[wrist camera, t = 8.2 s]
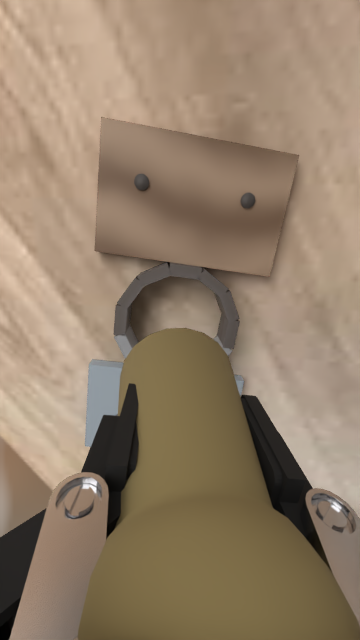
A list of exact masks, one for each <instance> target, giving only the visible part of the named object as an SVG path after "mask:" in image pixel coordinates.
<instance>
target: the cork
mask: <svg viewBox="0 0 360 640" xmlns="http://www.w3.org/2000/svg"><path fill="white" fill-rule="evenodd" d="M129 383H133V384H135V385H136V389H137V396H138V403H139V404H138V410H137V416H136V423H137V432H138V440H139V447H138V454H137V461H136V469H135V471H134V472H133V473H132V474H131V475H130V477H129V478H128V479H127V480H126V483H125V488H124V489H123V490H122V491H121V514H120V517H119V519H118V521H117V523H116V526H115V530H114V531H113V532H112V533H111V534H110V535H109V536H108V538H107V539H106V543H105V545H104V547H103V550H102V552H101V554H100V556H99V559H98V561H97V563H96V566H95V568H94V570H93V572H92V575H91V577H90V581H89V585H88V590H87V594H86V598H85V603H84V607H83V611H82V616H81V620H80V624H79V629H78V640H360V626H359V623H358V620H357V618H356V616H355V614H354V612H353V610H352V609H351V607H350V605H349V603H348V601H347V599H346V597H345V596H344V594H343V592H342V590H341V588H340V586H339V584H338V583H337V581H336V579H335V577H334V575H333V573H332V572H331V570H330V569H329V568H328V566H327V565H326V564H325V562H324V561H323V560H322V559H321V557H320V556H319V555H318V553H317V552H316V551H315V549H314V548H313V547H312V546H311V544H310V543H309V542H308V540H307V539H306V538H305V537H304V536H303V534H302V533H301V532H300V531H299V530H298V529H297V528H296V527H295V525H294V524H293V523H292V522H291V521H290V520H289V519H288V518H287V517H285V516H284V515H282V514H281V513H279V512H278V511H276V510H275V509H273V507H272V503H271V500H270V497H269V493H268V490H267V487H266V483H265V480H264V476H263V473H262V470H261V466H260V463H259V459H258V456H257V453H256V449H255V446H254V443H253V439H252V436H251V432H250V429H249V426H248V422H247V419H246V416H245V412H244V409H243V405H242V402H241V397H240V394H239V391H238V387H237V384H236V380H235V377H234V374H233V370H232V367H231V364H230V361H229V357H228V355H227V354H226V352H225V351H224V350H223V348H222V347H221V346H220V345H219V343H218V342H216V341H215V340H213V339H212V338H210V337H209V336H207V335H206V334H204V333H202V332H198V331H195V330H191V329H187V328H174V329H165V330H162V331H159V332H156V333H153V334H150V335H148V336H147V337H146V338H144V339H143V340H142V341H140V342H139V343H138V344H136V345H135V346H134V347H133V348H132V350H131V351H130V353H129V354H128V356H127V357H126V359H125V360H124V363H123V367H122V371H121V375H120V385H119V402H118V416H120V413H121V410H122V406H123V403H124V399H125V396H126V392H127V389H128V385H129Z"/></svg>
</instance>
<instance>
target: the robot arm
mask: <svg viewBox="0 0 360 640" xmlns="http://www.w3.org/2000/svg"><path fill="white" fill-rule="evenodd" d="M241 402H242V405H243V409H244V412H245V416H246V419H247V422H248V426H249V429H250V432H251V436H252V439H253V443H254V446H255V449H256V453H257V456H258V459H259V463H260V466H261V470H262V473H263V476H264V480H265V483H266V487H267V490H268V493H269V497H270V500H271V503H272V507H273V509H275V510H276V511H278V512H279V513H281V514H282V515H284V516H285V517H287V518H288V519H289V520H290V521H291V522H292V523H293V524H294V525H295V527H296V528H297V529H298V530H299V531H300V532H301V533H302V534H303V536H304V537H305V538H306V539H307V540H308V542H309V543H310V544H311V546H312V547H313V548H314V549H315V551H316V552H317V553H318V555H319V556H320V557H321V559H322V560H323V561H324V562H325V564H326V565H327V566H328V568H329V569H330V570H331V572H332V573H333V575H334V577H335V579H336V581H337V583H338V584H339V586H340V588H341V590H342V592H343V594H344V596H345V597H346V599H347V601H348V603H349V605H350V607H351V609H352V610H353V612H354V614H355V616H356V618H357V620H358V623H359V626H360V518H359V517H358V515H357V514H356V513H355V511H354V510H353V509H352V508H351V507H350V506H349V505H348V504H347V503H346V502H345V501H344V500H343V499H341V498H340V497H339V496H337V495H335V494H333V493H332V492H330V491H327V490H324V489H318V488H314V489H313V488H312V486H311V485H310V483H309V481H308V480H307V478H306V476H305V475H304V473H303V471H302V470H301V468H300V467H299V465H298V463H297V462H296V460H295V458H294V457H293V455H292V453H291V452H290V450H289V448H288V447H287V445H286V443H285V442H284V440H283V438H282V437H281V435H280V434H279V432H278V431H277V430H276V428H275V427H274V425H273V423H272V422H271V420H270V418H269V417H268V415H267V413H266V411H265V410H264V408H263V406H262V405H261V403H260V401H259V400H258V398H257V397H256V396H249V395H242V396H241ZM138 404H139V403H138V396H137V389H136V385H135V384H133V383H129V385H128V389H127V392H126V396H125V399H124V403H123V406H122V410H121V413H120V416H114V415H103V417H102V419H101V422H100V424H99V427H98V430H97V432H96V435H95V437H94V440H93V443H92V445H91V448H90V450H89V453H88V456H87V458H86V461H85V463H84V466H83V469H82V471H81V473H77V474H74V475H72V476H69V477H67V478H66V479H64V480H63V481H62V482H60V483H59V484H58V486H57V487H56V488H55V489H54V490H53V492H52V494H51V497H50V499H49V502H48V506H47V508H46V509H45V510H43V511H41V512H40V513H38V514H37V515H35V516H33V517H32V518H30V519H29V520H27V521H26V522H24V523H23V524H21V525H19V526H18V527H16V528H15V529H13V530H11V531H10V532H8V533H7V534H5V535H3V536H2V537H0V640H78V629H79V624H80V620H81V616H82V611H83V607H84V603H85V598H86V594H87V590H88V585H89V581H90V577H91V575H92V572H93V570H94V568H95V566H96V563H97V561H98V559H99V556H100V554H101V552H102V550H103V547H104V545H105V543H106V539H107V538H108V536H109V535H110V534H111V533H112V532H113V531H114V530H115V526H116V523H117V521H118V519H119V517H120V514H121V491H122V490H123V489H124V488H125V483H126V480H127V479H128V478H129V477H130V475H131V474H132V473H133V472H134V471H135V469H136V461H137V454H138V447H139V440H138V432H137V423H136V416H137V410H138Z"/></svg>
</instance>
